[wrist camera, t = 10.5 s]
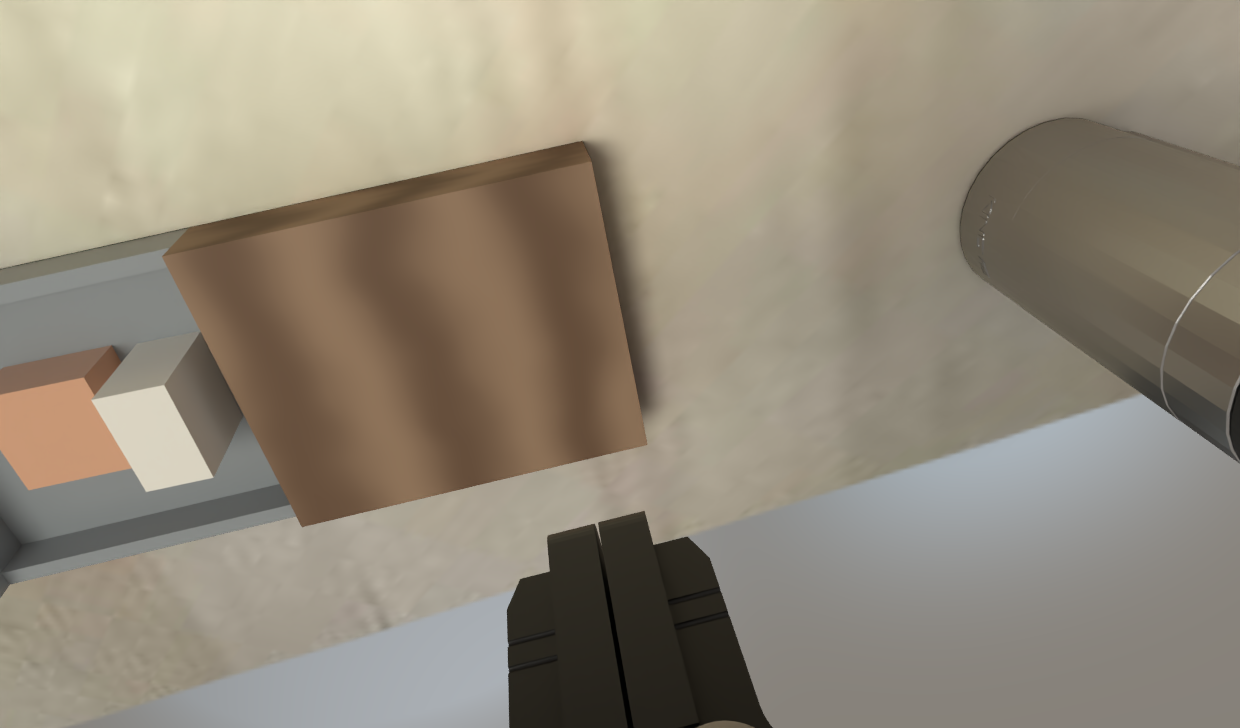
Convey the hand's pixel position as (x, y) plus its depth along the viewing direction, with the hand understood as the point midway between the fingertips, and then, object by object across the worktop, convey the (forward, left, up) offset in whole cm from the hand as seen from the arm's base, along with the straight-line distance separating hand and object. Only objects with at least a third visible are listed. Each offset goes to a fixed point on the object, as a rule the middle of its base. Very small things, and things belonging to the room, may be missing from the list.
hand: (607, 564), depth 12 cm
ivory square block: (+17, +8, -24) cm, 31 cm away
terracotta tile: (+24, +8, -24) cm, 34 cm away
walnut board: (+6, +8, -27) cm, 29 cm away
